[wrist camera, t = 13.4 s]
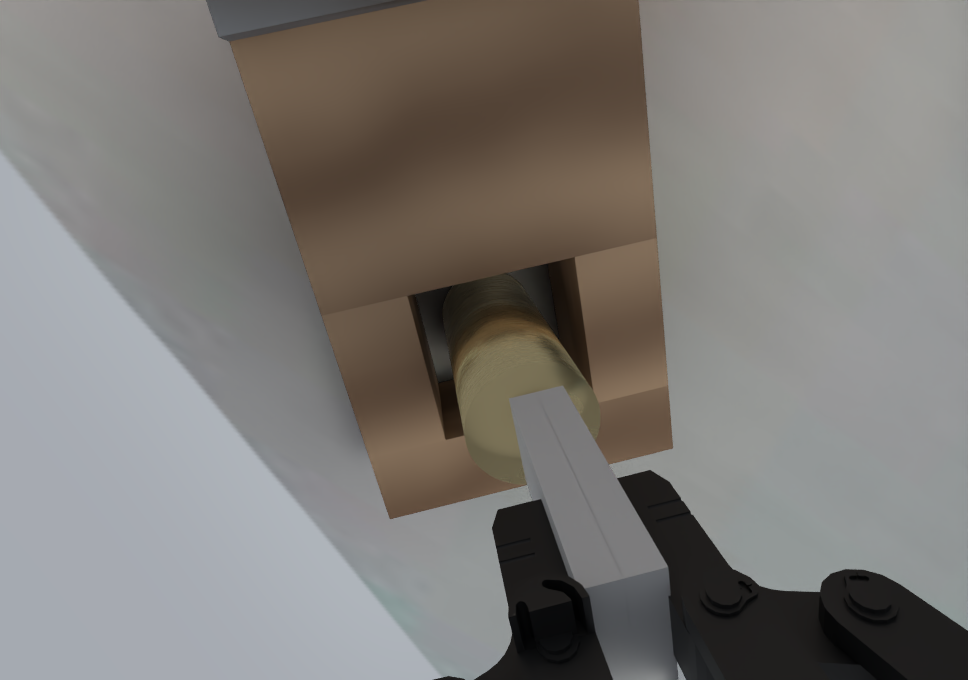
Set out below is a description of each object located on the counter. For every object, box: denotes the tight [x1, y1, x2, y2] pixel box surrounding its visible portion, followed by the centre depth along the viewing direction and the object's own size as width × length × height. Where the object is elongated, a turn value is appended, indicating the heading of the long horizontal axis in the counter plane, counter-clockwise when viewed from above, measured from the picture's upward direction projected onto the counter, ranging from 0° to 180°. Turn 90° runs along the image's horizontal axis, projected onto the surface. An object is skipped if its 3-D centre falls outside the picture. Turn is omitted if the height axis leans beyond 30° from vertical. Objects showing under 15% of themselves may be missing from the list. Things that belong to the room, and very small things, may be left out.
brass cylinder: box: [442, 273, 601, 485], centre depth 21 cm, size 4×4×10 cm
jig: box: [206, 0, 673, 519], centre depth 21 cm, size 20×12×6 cm, turn 11°
